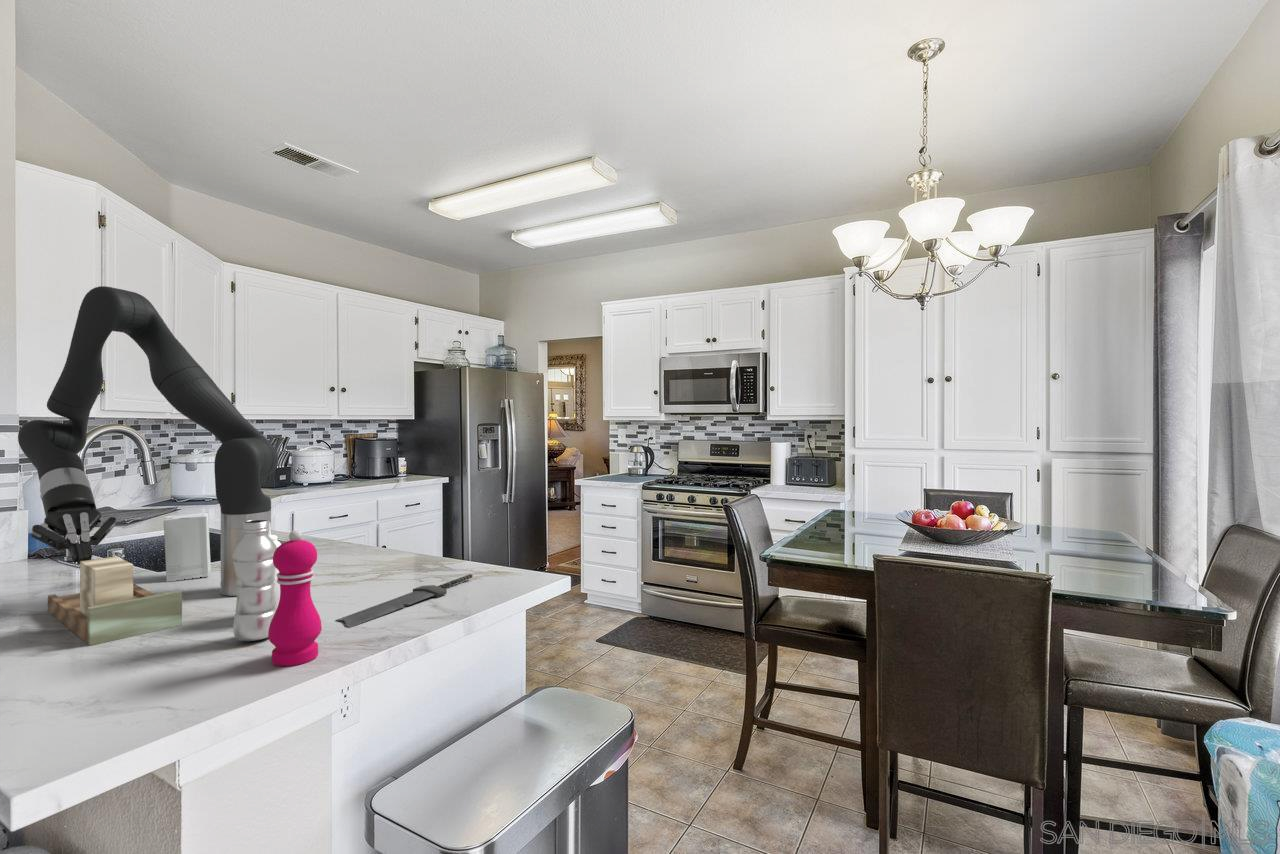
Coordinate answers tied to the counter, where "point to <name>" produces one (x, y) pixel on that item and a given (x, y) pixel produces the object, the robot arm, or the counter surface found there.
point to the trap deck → (119, 615)
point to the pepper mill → (294, 604)
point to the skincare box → (187, 546)
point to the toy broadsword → (399, 602)
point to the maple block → (104, 582)
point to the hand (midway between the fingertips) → (83, 561)
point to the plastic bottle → (254, 582)
